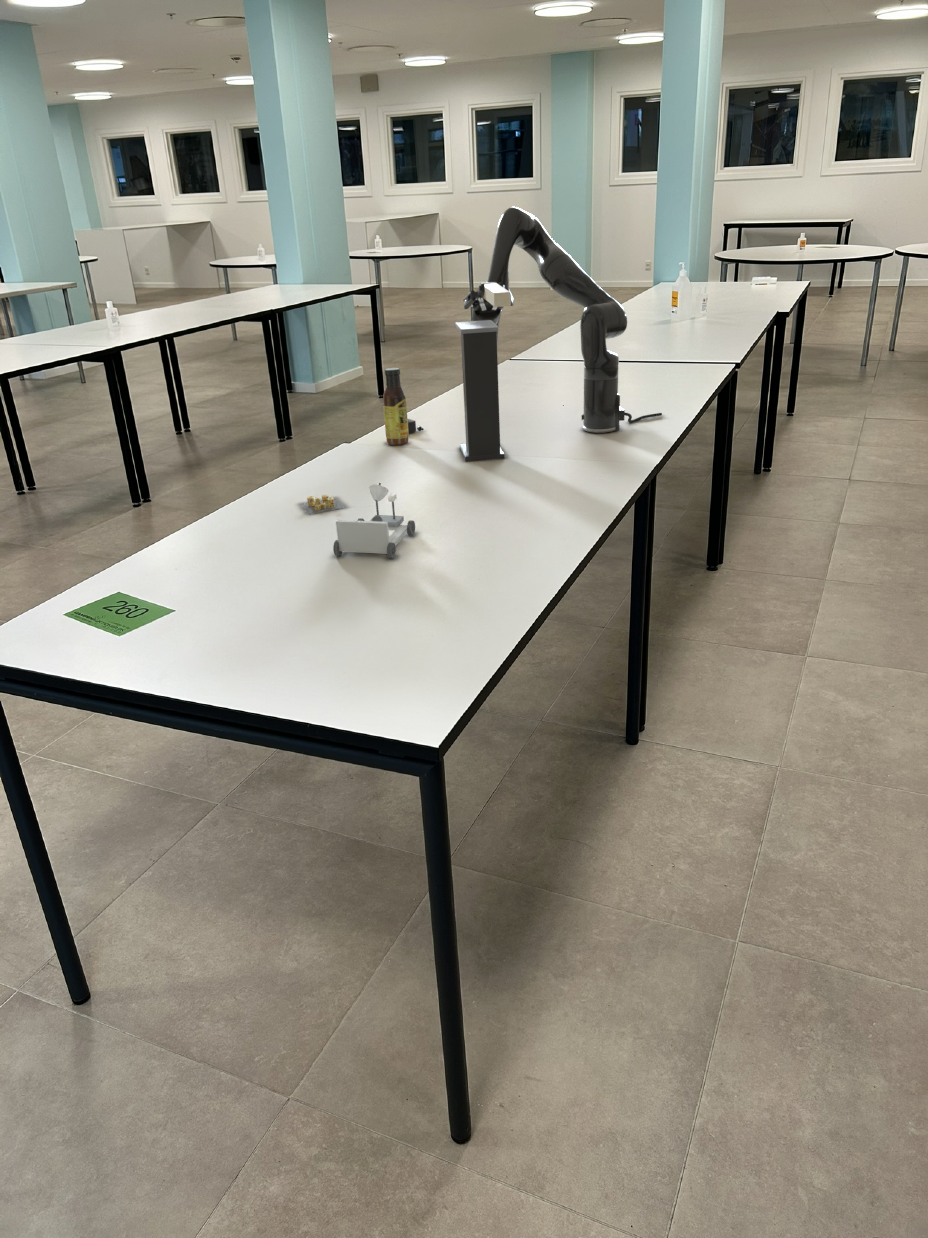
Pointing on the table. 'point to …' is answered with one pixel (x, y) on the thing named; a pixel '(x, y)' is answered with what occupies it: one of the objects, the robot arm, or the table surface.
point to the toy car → (373, 530)
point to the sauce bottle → (395, 409)
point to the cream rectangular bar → (496, 295)
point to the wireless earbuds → (413, 426)
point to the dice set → (321, 504)
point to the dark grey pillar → (480, 390)
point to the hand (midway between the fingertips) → (492, 286)
